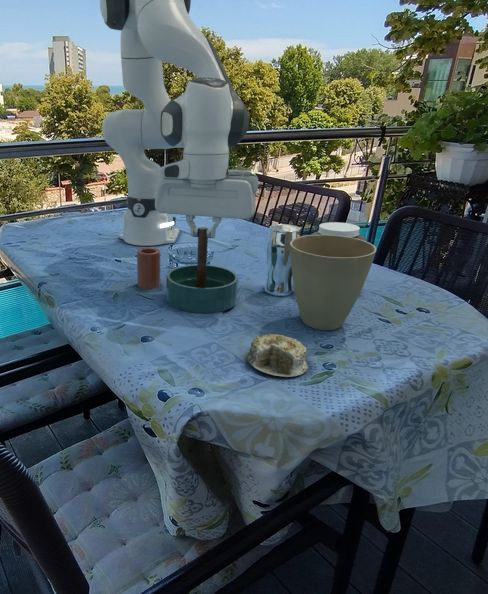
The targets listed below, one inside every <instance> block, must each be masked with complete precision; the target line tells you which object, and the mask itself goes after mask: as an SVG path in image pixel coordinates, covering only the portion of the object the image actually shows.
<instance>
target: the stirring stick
mask: <svg viewBox="0 0 488 594" xmlns="http://www.w3.org/2000/svg"><path fill="white" fill-rule="evenodd" d="M207 229H209V228H208V227H205V226H200V228H198V237H197V256H196V257H197V258H196V265H197V284H196V288H206V268H207V265H208V242H209V238H207V237H206V235H207Z"/></svg>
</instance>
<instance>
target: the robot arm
mask: <svg viewBox="0 0 488 594" xmlns="http://www.w3.org/2000/svg"><path fill="white" fill-rule="evenodd" d="M191 5H192V0H99V11H100V14H101V17H102V19H103V21H104V24H105V25H106V26H107V28H109V29H111V30H115V31H120V41H119V42H120V62H121V63H120V64H121V78H122V85H123V87H124V89H125V91H126V92H127V93H128V94H129V95H131V96H132V97H134V98H136V99H138V100H139V101H141V103H142V105H143V106H144V109H143V108H142V109H141V108H140V109H138V108H135V109H119V110H115V111H111V112H108V113H107V114H106V116H105V117H104V119H103V121H102V126H101V131H102V132H101V133H102V137H103V139H104V141H105V143H106V144H107V145H108V146H109V147H110V148H111V149H113V150H114V151H115V152H116V153H117V155H118V156H119V157H120V159H121V161H122V164H123V166H124V169H125V172H126V180H127V181H126V182H127V196H126V208H127V209H126V211H125V212H123V221H122V233H119V235H118V236H119V239H120V240H123V241H124V242H125V243H126V244H129V245H132V246H140V247H142V246H143V247H147V246H148V247H149V246H151V247H152V246H159V245H165V244H166V245H167V244H174V243H175V242H176V240H177V239H178V237H179V234H180V233H181V232H180V230H181V229H180V228H177V227H175V226H176V223H177V222H176V218H177V217H176V216H173V215H180V216H185V221H186V222H185V223H187V225H188V227H189V229H190V237H191V238H198V228H200V227H201V226H200V227H199V226H197V225H196V223H195V219H196V217H208V218H212V223H214V224H213V226H211V227H209V228H208V229H207V235H206V237H207V238H208V239H212V240H213V239H215V238H216V233H217V231H216V230H217V228H218V227H219V226H220V224H221V223H222V220H223V219H233V220H234V219H235V220H246V221H247V220H248V221H249V220H250V219H251V218H253V216H254V215H255V213H256V194H255V193H256V192H257V191H258V188H259V177H258V176H257V175H256V173H254V172H252V171H251V170H249V169H244V170H243V169H232V168H229V163H230V162H229V159H230V149H233V148H235V147H236V146H237V145H238V144H240V142H241V141H242V140H243V139H244V137H245V136H246V135H247V132H248V130H249V126H250V115H249V111H248V110H247V107H246V105H245V103H244V102H243V101H242V99H241V98H240V96H239V95H238V94H237V92H236V90H235V89H234V87H233V84H232V82H231V80H230V78H229V76H228V73H227V71H226V69H225V67H224V65H223V63H222V61H221V59H220V56H219V54H218V52H217V50H216V48H215V46H214V44H213V42H212V41H211V39H210V38H209V37H208V36H207V35H205V34H204V32H202V31H201V30H200V29H199V28H198V27H197V25H196V24H195V23H194V21H193V19H192V18H191V17H190V11H191ZM163 63H167V64H169V65H173V66H176V67H179V68H182V69H184V70H186V71H189V72H191V73H192V74H193V75H195V76H196V77H194V78H191V79H190V80H188V81H187V84H186V88H185V91H184V92H183V93H182V94H181V95H179V96H178V97H176V98H175V99H171V98H170V97H169V94H168V92H167V90H166V87H165V83H164V82H165V81H164V73H163ZM175 148H177V149H178V148H179V149H182V148H183V152H182V160H181V159H178V160H175V161H173V162H171V163H167V164H165V165H162V166H161V165H160V164H158V163H156V161H153V160H152V159H149V158H148V157H147V155H146V153H145V150H168V149H175Z"/></svg>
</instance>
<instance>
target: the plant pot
mask: <svg viewBox="0 0 488 594" xmlns="http://www.w3.org/2000/svg"><path fill="white" fill-rule="evenodd" d="M376 253H377V247H376V246H375V245H374V244H372V243H371V242H369V241H363V240H360V239H356V238H352V237H346V236H338V235H311V234H308V235H300V237H297V238H295V239H293V240H292V241H291V242H290V255H291V269H292V284H293V289H294V295H295V299H296V304H297V307H298V311H299V315H300V317H301V322H302V323H303V324H304V325H305V326H307V327H309V328H312V329H315V330H318V331H334V330H338V329H340V328H341V327H342V325H343V324H344V322H345V321H346V319H347V318H348V316H349V315H350V313H351V312H352V309H353V308H354V306H355V304H356V302H357V300H358V298H359V296H360V294H361V292H362V290H363V287H364V285H365V283H366V281H367V278H368V275H369V272H370V270H371V267H372V264H373V262H374V259H375V255H376Z"/></svg>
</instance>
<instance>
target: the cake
mask: <svg viewBox="0 0 488 594" xmlns="http://www.w3.org/2000/svg"><path fill="white" fill-rule="evenodd" d="M306 357H307V347H306V346H304V344H302V342H301V341H299V340H297V339H295V338H292V337H290V336H286V335H282V334H275V333H273V334H270V333H269V334H263V335H259V336H256V338H254V339H253V340H252V342H251V343H250V348H249V352H247V354H246V361H247V363H248V364H249V365H250V366H251V367H253V368H254V369H255V370H258V371H259V372H261V373H264V374H267V375H271V376H276V377H277V376H278V377H285V378H288V377H289V378H292V377H297V376H301V375H303V374H305V373H306V372H307V371H308V369H309V366H308V362H307V361H306Z"/></svg>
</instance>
